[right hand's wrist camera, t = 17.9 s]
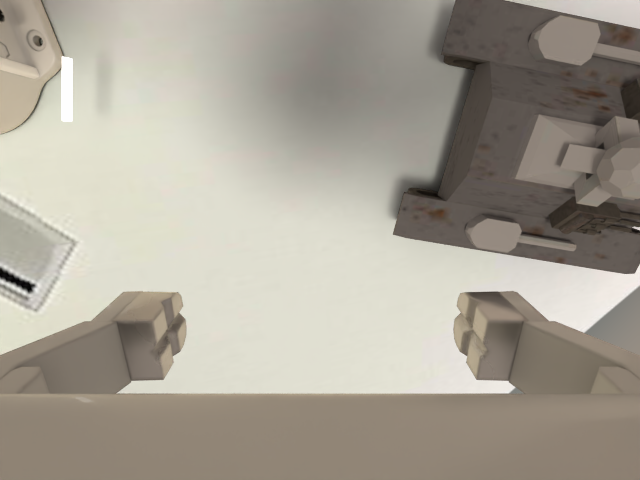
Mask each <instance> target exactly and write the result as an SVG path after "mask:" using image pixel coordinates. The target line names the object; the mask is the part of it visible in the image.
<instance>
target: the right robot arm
mask: <svg viewBox="0 0 640 480" xmlns="http://www.w3.org/2000/svg"><path fill="white" fill-rule="evenodd" d="M40 38H42V41H43V44H42V45H40V43H39V39H40ZM61 67H62V121H72V59H71V58H67V57H63V55H62V52H61V49H60V47H59V44H58V42H57V39H56V37H55V34H54V32H53V29H52V27H51V24H50V22H49V19H48V17H47V15H46V12H45V10H44V7H43V5H42V2H41V0H0V134H2V133H6V132H8V131H11V130H13V129H15V128H16V127H18V126H19V125H21V124H22V123H23V122H24V121H25V120H26V119H27V118H28V117H29V116H30V114H31V113H32V111H33V110H34V108H35V106H36V104H37V101H38V98H39V95H40V93H41V90H42V88H43V86H44V84H45V83H46V82H47V81H48V80H49V79H50V78H52V77H53V76H54V75H55V74H56V73H57V72H58V71H59V70H60V68H61ZM182 307H183V302H182V297H181V295H180V294H179V293H178V292H143V291H135V292H123V293H122V294H121V295H120V296H118V297H117V298H116V299H115V300H114V301H113V302H112V303H111V304H110V305H108V306H107V307H106V308H105V309H104V310H103V311H102V312H101V313H99V314H98V315H97V316H96V317H95V318H94V319H93V320H92V321H85V322H82V323H80V324H77V325H75V326H72V327H70V328H67V329H65V330H62V331H60V332H57V333H55V334H52V335H50V336H47V337H45V338H42V339H40V340H37V341H35V342H32V343H30V344H27V345H25V346H22V347H20V348H17V349H15V350H12V351H10V352H7V353H5V354H2V355H0V480H640V355H637V354H635V353H632V352H630V351H627V350H625V349H622V348H620V347H618V346H615V345H613V344H610V343H608V342H605V341H603V340H600V339H598V338H595V337H593V336H590V335H588V334H585V333H583V332H580V331H578V330H575V329H573V328H570V327H568V326H565V325H563V324H560V323H558V322H555V321H548V320H547V319H546V318H545V317H544V316H543V315H542V314H541V313H539V312H538V311H537V310H536V309H535V308H534V307H533V306H532V305H531V304H529V303H528V302H527V301H526V300H525V299H524V298H523V297H522V296H521V295H519V294H518V293H517V292H514V291H506V292H464V293H460V295H459V297H458V302H457V307H458V309H459V310H460V312H461V313H460V314H459V315H458V316H457V317H456V318H455V321H454V329H453V330H454V339H455V342H456V345H457V347H458V349H459V351H460V352H461V353H463V354H465V355H466V356H467V361H466V363H467V365H468V366H469V368H470V370H471V371H472V373H473V375H474V376H475V378H476V380H502V381H509V383H511V384H512V385H513V386H515V387H516V388H518V389H519V390H520V391H522V392H523V393H524V394H116V393H117V392H119V391H120V390H121V389H123V388H124V387H125V386H127V385H128V384H129V383H131V381H137V380H164V378H165V376H166V375H167V373H168V371H169V370H170V368H171V366H172V364H173V363H174V361H173V356H174V355H175V354H177V353H179V352H180V351H181V349H182V347H183V345H184V342H185V338H186V320H185V318H184V317H183V316H182V315H181V314H180V313H179V312H180V310H181V309H182Z"/></svg>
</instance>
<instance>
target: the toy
mask: <svg viewBox="0 0 640 480" xmlns="http://www.w3.org/2000/svg"><path fill="white" fill-rule="evenodd" d="M441 55H445V58H444V62H445V63H446V64H449V65H453V66H458V67H463V68H468V69H473V70H475V71H474V75H473V78H472V81H471V85H470V88H469V91H468V95H467V98H466V101H465V105H464V108H463V111H462V115H461V118H460V121H459V125H458V128H457V132H456V135H455V138H454V142H453V145H452V148H451V152H450V155H449V158H448V162H447V165H446V168H445V172H444V175H443V178H442V182H441V185H440V188H439V192H435V191H430V190H424V189H418V188H409V189H408V193H407V192H404V195H403V199H402V202H401V206H400V210H399V213H398V217H397V221H396V225H395V228H394V232H393V235H397V236H401V237H405V238H410V239H416V240H422V241H428V242H434V243H440V244H446V245H452V246H458V247H464V248H470V249H476V250H482V251H488V252H495V253H501V254H507V255H513V256H519V257H525V258H531V259H537V260H543V261H549V262H555V263H561V264H567V265H573V266H579V267H585V268H592V269H598V270H604V271H610V272H616V273H623V274H633V273H635V272H636V270H637V268H638V266H639V264H640V231H639V230H637V229H634V228H632V227H634V226H635V227H640V29H637V28H632V27H627V26H623V25H618V24H613V23H609V22H604V21H599V20H594V19H590V18H585V17H580V16H576V15H571V14H566V13H561V12H557V11H552V10H547V9H543V8H538V7H533V6H528V5H524V4H519V3H514V2H510V1H505V0H456V1H455V5H454V9H453V12H452V16H451V20H450V23H449V27H448V31H447V35H446V38H445V42H444V46H443V50H442V53H441Z"/></svg>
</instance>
